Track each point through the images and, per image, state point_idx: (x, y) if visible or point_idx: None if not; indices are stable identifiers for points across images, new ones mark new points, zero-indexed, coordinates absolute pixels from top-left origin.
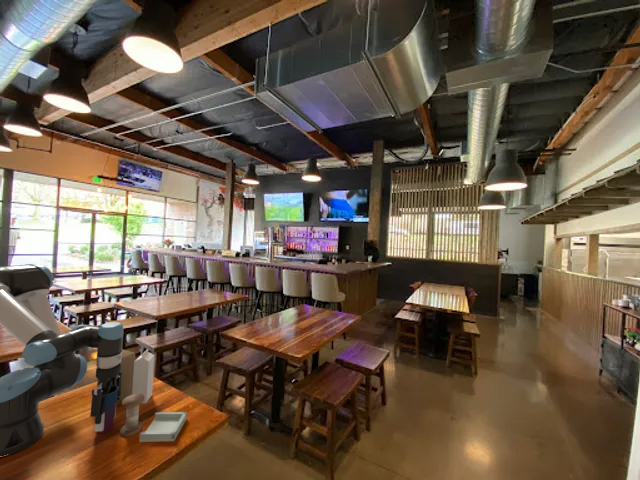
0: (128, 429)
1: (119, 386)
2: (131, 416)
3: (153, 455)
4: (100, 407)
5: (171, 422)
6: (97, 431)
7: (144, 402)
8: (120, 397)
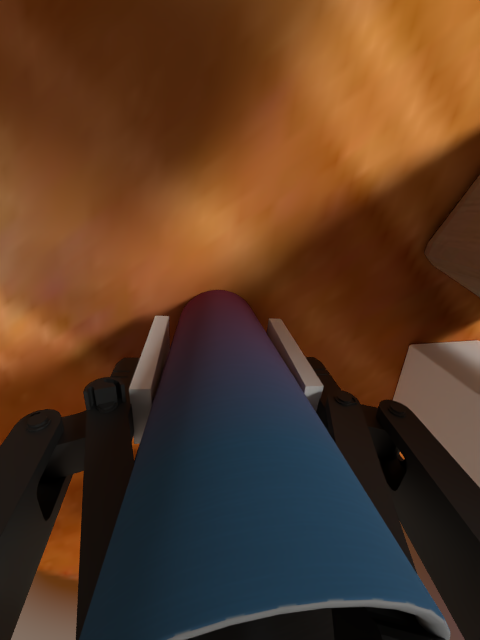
0: None
1: (433, 569)
2: None
3: (65, 547)
4: (42, 549)
5: None
6: (183, 310)
7: (396, 399)
8: (477, 289)
